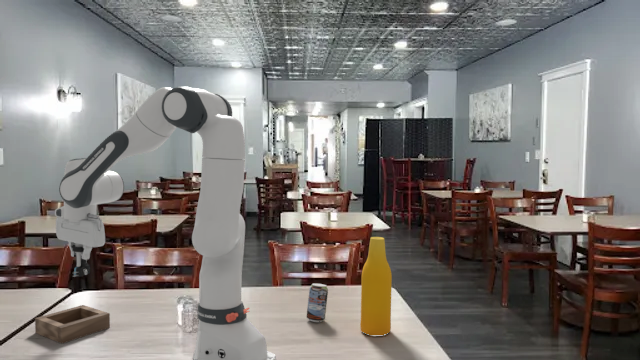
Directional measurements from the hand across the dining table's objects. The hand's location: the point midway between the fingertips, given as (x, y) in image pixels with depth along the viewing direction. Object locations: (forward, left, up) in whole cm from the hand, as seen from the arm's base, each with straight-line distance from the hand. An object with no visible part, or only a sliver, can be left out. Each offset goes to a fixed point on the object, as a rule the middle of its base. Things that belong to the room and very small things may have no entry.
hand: (80, 257), depth 147 cm
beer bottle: (-75, -49, -22) cm, 92 cm away
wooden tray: (+1, +2, -22) cm, 22 cm away
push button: (0, 0, -6) cm, 6 cm away
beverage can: (-55, -47, -22) cm, 76 cm away
